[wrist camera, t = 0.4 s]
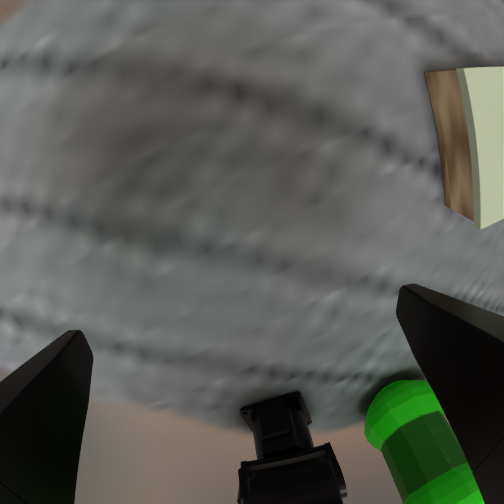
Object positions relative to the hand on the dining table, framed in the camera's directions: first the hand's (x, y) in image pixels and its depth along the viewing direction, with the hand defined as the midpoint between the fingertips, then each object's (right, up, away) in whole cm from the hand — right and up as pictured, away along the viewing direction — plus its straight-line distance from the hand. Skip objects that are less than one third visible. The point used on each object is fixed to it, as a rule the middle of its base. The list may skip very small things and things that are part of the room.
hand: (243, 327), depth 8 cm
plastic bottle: (+17, -15, +25) cm, 34 cm away
